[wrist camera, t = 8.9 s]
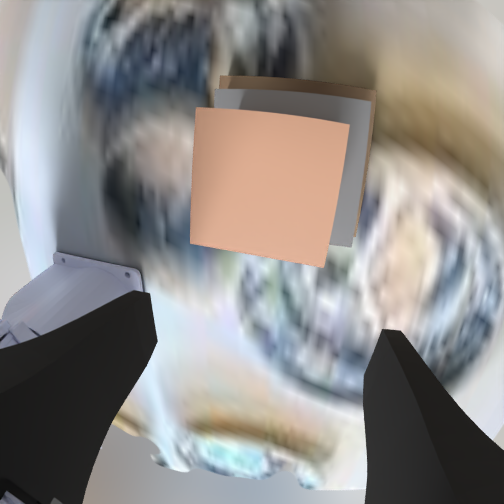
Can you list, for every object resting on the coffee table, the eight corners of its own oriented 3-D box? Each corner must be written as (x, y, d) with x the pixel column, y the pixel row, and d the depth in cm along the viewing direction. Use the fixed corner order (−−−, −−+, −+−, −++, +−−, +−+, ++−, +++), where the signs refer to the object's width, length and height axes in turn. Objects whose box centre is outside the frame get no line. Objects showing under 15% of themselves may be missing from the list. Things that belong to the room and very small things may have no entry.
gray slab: (223, 216, 17) (211, 229, 16) (227, 91, 14) (214, 89, 13) (348, 232, 16) (351, 247, 15) (364, 103, 13) (371, 101, 11)
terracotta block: (230, 203, 15) (189, 243, 10) (238, 110, 13) (196, 107, 8) (323, 219, 14) (323, 267, 10) (339, 123, 12) (349, 124, 8)
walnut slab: (223, 207, 19) (214, 217, 18) (230, 79, 16) (220, 75, 14) (351, 224, 18) (355, 237, 16) (369, 93, 15) (376, 90, 13)
